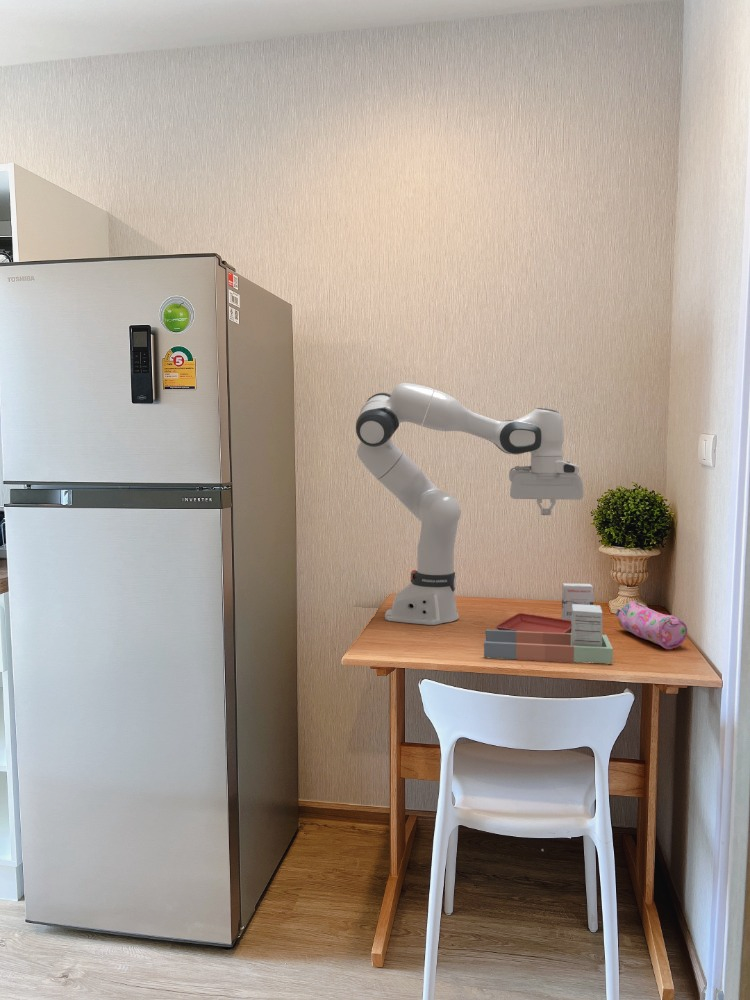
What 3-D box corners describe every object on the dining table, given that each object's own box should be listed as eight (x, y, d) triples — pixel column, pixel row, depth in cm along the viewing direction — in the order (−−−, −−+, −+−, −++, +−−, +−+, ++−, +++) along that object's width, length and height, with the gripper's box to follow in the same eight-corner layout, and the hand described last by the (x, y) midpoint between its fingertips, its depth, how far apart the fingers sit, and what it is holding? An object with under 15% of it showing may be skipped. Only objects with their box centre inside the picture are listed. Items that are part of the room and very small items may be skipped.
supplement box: (570, 651, 195) (571, 603, 193) (599, 652, 193) (601, 604, 192) (571, 659, 187) (572, 610, 186) (601, 661, 186) (603, 611, 184)
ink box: (590, 621, 223) (591, 582, 222) (593, 626, 218) (594, 586, 217) (561, 621, 224) (561, 582, 223) (563, 625, 219) (564, 586, 218)
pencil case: (614, 630, 214) (615, 599, 213) (642, 628, 216) (643, 597, 215) (657, 652, 193) (658, 618, 193) (688, 650, 195) (690, 616, 194)
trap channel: (483, 658, 189) (484, 642, 188) (485, 643, 201) (485, 629, 201) (612, 664, 183) (612, 648, 183) (605, 649, 195) (606, 634, 195)
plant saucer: (578, 632, 213) (578, 621, 213) (557, 648, 198) (557, 636, 198) (518, 623, 223) (519, 612, 223) (494, 638, 208) (494, 626, 208)
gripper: (509, 466, 209) (508, 515, 210) (584, 467, 205) (583, 517, 207) (509, 465, 215) (508, 513, 217) (582, 465, 212) (581, 514, 213)
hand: (545, 515), depth 212 cm, fingers closed
